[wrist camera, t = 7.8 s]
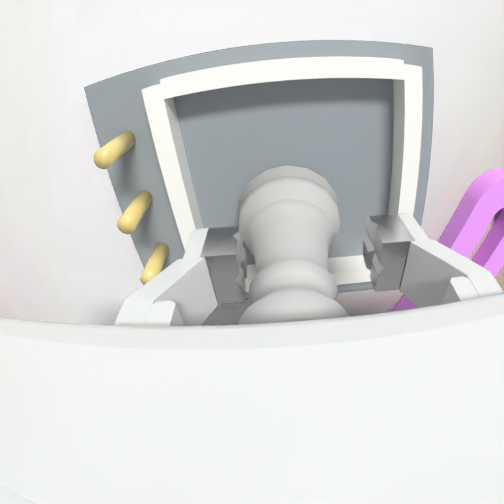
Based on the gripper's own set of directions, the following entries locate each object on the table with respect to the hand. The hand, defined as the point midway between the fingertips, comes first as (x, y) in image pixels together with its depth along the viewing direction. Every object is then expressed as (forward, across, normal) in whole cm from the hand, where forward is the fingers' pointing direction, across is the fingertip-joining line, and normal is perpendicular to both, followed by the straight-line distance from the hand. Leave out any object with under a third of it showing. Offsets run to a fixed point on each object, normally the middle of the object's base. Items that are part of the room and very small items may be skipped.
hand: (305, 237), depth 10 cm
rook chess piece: (+4, 0, +1) cm, 5 cm away
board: (+5, +1, 0) cm, 6 cm away
